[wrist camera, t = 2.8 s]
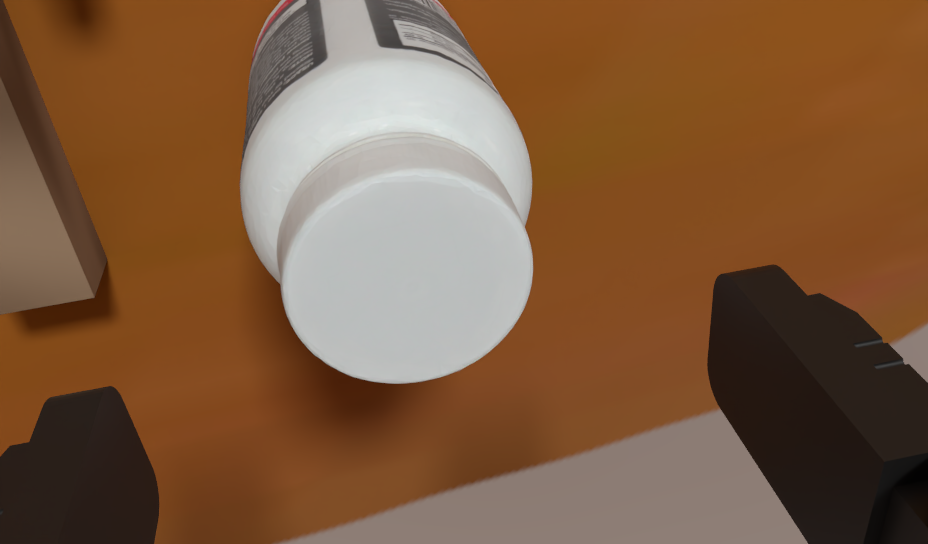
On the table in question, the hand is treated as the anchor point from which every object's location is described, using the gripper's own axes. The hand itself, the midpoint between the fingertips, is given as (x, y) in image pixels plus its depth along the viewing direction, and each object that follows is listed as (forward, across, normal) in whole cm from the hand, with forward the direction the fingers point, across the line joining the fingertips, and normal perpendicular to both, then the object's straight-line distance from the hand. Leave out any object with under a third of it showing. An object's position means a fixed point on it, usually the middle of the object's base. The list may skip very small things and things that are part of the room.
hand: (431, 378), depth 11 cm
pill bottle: (+12, 0, 0) cm, 12 cm away
